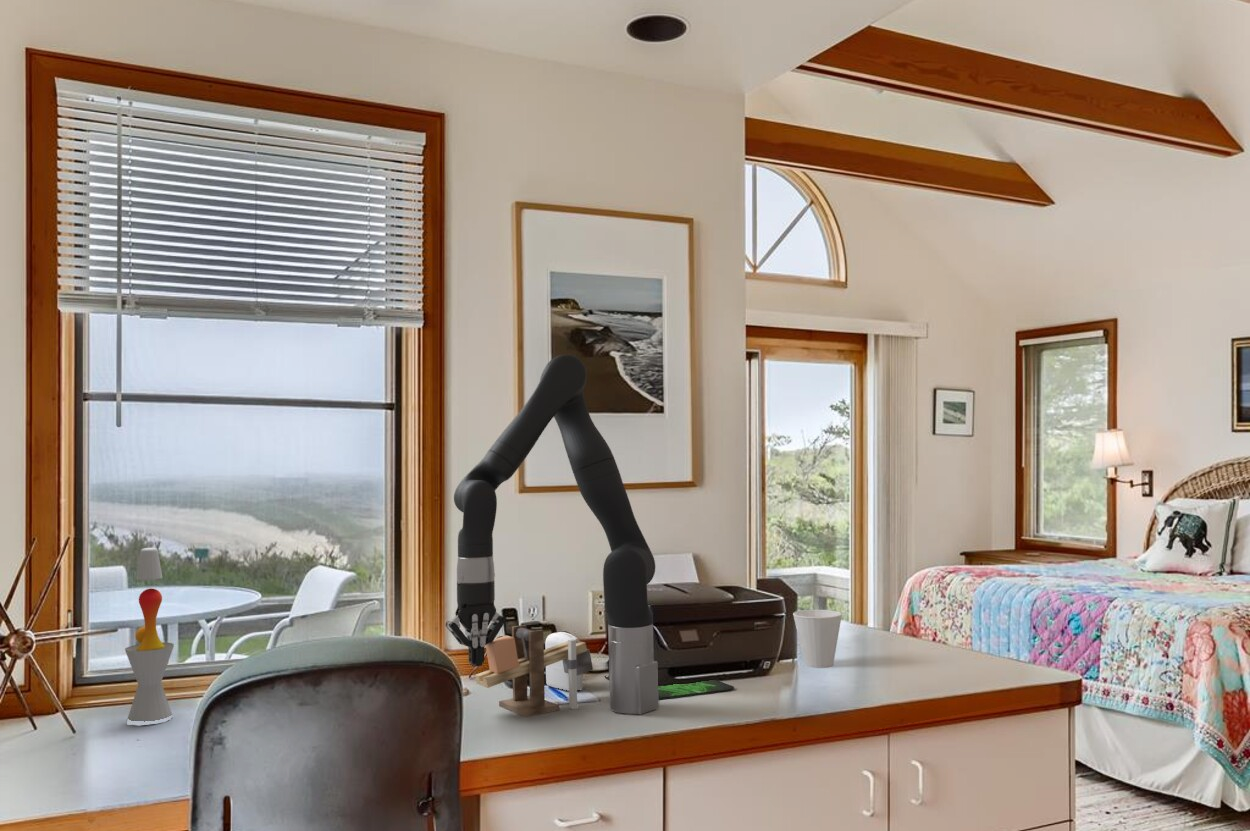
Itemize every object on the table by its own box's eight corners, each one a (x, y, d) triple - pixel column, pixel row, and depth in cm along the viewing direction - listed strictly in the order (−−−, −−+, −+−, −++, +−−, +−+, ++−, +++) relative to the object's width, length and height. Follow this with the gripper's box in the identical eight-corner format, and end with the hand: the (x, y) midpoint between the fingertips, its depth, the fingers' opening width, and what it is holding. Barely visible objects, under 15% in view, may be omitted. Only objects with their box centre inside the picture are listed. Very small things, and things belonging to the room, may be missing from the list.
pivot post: (532, 699, 212) (531, 622, 212) (559, 710, 203) (557, 629, 203) (499, 705, 207) (497, 627, 208) (524, 716, 198) (523, 634, 199)
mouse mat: (600, 677, 233) (600, 673, 233) (684, 667, 241) (684, 663, 241) (646, 703, 208) (646, 699, 208) (738, 692, 216) (738, 687, 216)
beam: (579, 665, 216) (570, 610, 215) (594, 670, 211) (584, 613, 210) (479, 703, 202) (468, 645, 201) (492, 709, 197) (481, 649, 196)
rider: (511, 667, 205) (506, 635, 204) (519, 670, 202) (514, 637, 201) (490, 674, 202) (484, 642, 201) (498, 677, 199) (492, 644, 199)
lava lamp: (183, 717, 203) (182, 547, 204) (142, 728, 195) (142, 551, 197) (156, 712, 208) (155, 545, 209) (115, 723, 200) (115, 549, 201)
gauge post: (574, 706, 205) (573, 639, 205) (578, 708, 204) (576, 640, 204) (568, 708, 204) (566, 639, 204) (572, 709, 203) (570, 640, 203)
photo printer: (543, 685, 224) (542, 631, 225) (558, 682, 227) (557, 628, 227) (569, 693, 216) (568, 636, 217) (585, 690, 219) (584, 634, 219)
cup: (784, 662, 243) (783, 612, 243) (824, 657, 248) (822, 608, 248) (813, 672, 232) (811, 619, 232) (854, 666, 237) (852, 614, 237)
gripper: (496, 574, 206) (496, 658, 205) (437, 580, 198) (438, 667, 197) (513, 578, 200) (514, 664, 199) (454, 583, 192) (454, 673, 191)
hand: (476, 665), depth 198 cm, fingers closed
